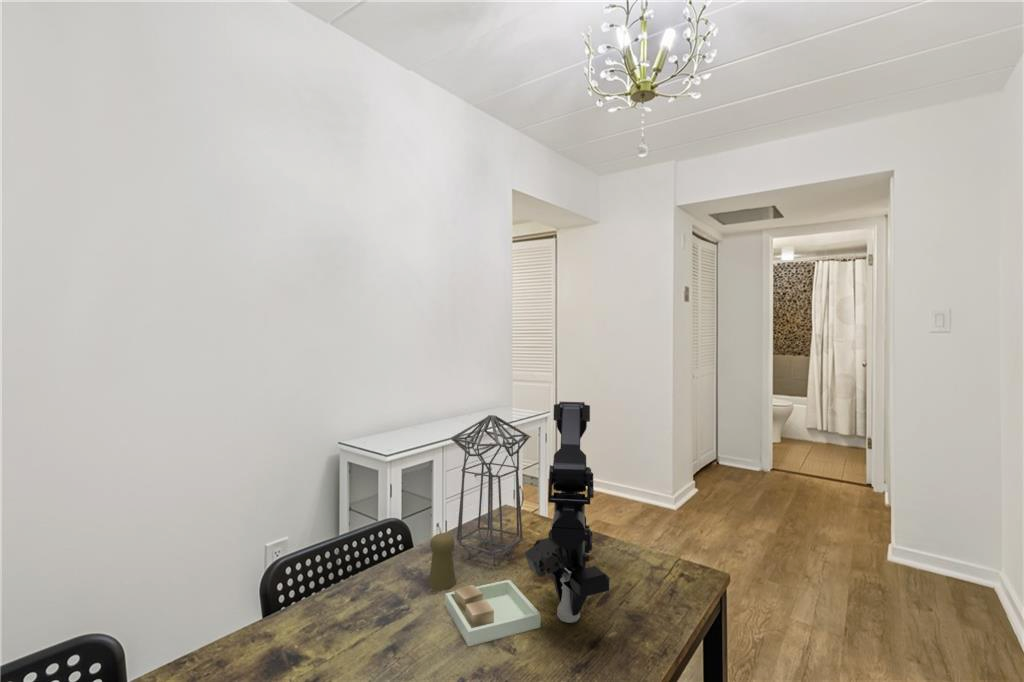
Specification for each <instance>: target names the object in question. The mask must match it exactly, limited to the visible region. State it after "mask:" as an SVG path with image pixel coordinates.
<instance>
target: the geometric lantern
mask: <svg viewBox="0 0 1024 682" xmlns="http://www.w3.org/2000/svg"><path fill="white" fill-rule="evenodd" d="M490 423H491V428H492V431H488V429H489V426H490ZM504 425H505V426H507V427H508V428H510V429H511V430H514V431H516V432H517V433H519V434H512V433H510V432H509V430H507V429H506V427H505V426H504ZM473 428H474V429H473ZM470 430H471V431H470ZM468 431H470V432H469V433H468V434H467V435H466V436H462V435H464V434H465V433H467V432H468ZM497 431H498V432H499V433H498V432H497ZM480 433H481V434H480ZM505 433H506V434H507V435H508V436H506V434H505ZM484 434H486V435H487V436H489V437H490V439H492V440H493V441H495V443H481V441H482V438H483V436H484ZM499 437H501V438H502V443H501V442H500V441H499ZM518 437H521V438H519V439H518V440H517V439H516V438H518ZM530 438H532V436H531V435H529V434H527V433H525V432H524V431H522V430H520V429H519V428H517V427H515V426H514V425H513V424H510V423H509V422H508V421H505V420H504V419H503V418H500V417H499V416H497V415H495V414H494V415H493V414H491V415H490V414H488V415H487V416H486V417H484V418H482V419H481V420H479V421H478V422H475V423H474V424H472V425H470V426H469V427H467V428H465V429H464V430H462V431H460V432H458V433H457V434H454V435H452V437H451V438H450V440H451V441H452V442H454V443H455V444H456V445H457V446H458V447H459V448H460V449H461V450H462V451H463V452H464V459H463V467H462V469H461V473H462V475H461V489H460V497H459V499H460V501H459V510H458V511H459V512H458V521H457V532H456V533H457V534H456V542H457V544H458V545H460V546H461V547H462V549H464V550H465V551H467V553H468V559H467V560H469V561H472V559H473V558H475V557H476V556H479V557H483V558H488V559H492V560H493V566H494V567H495V566H496V560H497V565H498V566H501V565H500V564H501V563H500V561H501V560H500V559H501V557H502V556H503V555H505V554H506V555H508V558H511V557H512V549H513V548H514V547H516V546H517V545H518V544H519V543H520V542H522V541H523V539H524V538H523V537H524V536H523V522H522V510H521V496H520V481H519V480H520V479H519V470H520V454H519V453H520V450H521V448H522V447H523V446H524V445H525V444H526V443H527V441H528V440H529V439H530ZM468 439H470V440H468ZM510 440H511V441H510ZM463 443H464V444H463ZM520 443H521V444H520ZM470 445H471V446H470ZM516 445H517V449H516V450H515V451H514V446H516ZM475 446H476V449H475ZM479 447H488V448H487V449H485V450H483V451H482V452H480V449H479ZM497 447H498V449H496V452H495V453H494V455H493V457H492V458H491V460H490V461H489V462H486V461H485V459H484V457H483V455H484V454H486V453H488V452H490V451H491V450H492V449H494V448H497ZM502 448H504V449H505V451H506V452H507V454H508V455H506V456H505V458H504V460H503V462H502V463H494V460H495V458H496V456H497V455H498V453H499V451H500V450H501V449H502ZM470 449H472V450H473V451H474V453H471V450H470ZM510 449H511V450H510ZM476 450H477V451H476ZM515 455H516V465H515V462H514V458H513V457H514V456H515ZM469 457H477V459H478V460H479V461H480V462H481V463H478V464H474V465H472V466H469V467H466V466H467V462H468V460H469ZM509 457H510V459H511V462H512V465H509V464H505V462H506V460H507V459H508V458H509ZM492 465H493V466H500V467H499V469H498V471H497V472H496V474H493V473H492V471H491V468H492ZM478 466H481V473H480V472H475V471H474V472H473V471H467V470H469V469H473V468H475V467H478ZM503 467H508V468H514V470H512V471H509V472H506V473H503V474H502V475H499V473H500V472H501V469H502V468H503ZM484 468H486V470H487V471H488V474H484ZM512 473H515V497H516V498H515V500H516V501H515V503H516V505H515V506H516V509H515V510H516V532H513V531H510V530H509V531H508V530H503V515H502V514H503V513H502V511H503V510H502V508H503V507H502V486H501V485H502V484H501V478H502V477H505V476H508V475H510V474H512ZM466 474H471V475H475V476H476V475H477V476H480V491H479V502H478V503H479V505H478V517H477V519H478V520H477V521H478V522H477V528H476V529H473V530H472V531H470V532H468V533H467V534H464V535H463V518H464V517H463V513H464V489H465V478H466V477H465V476H466ZM484 477H487V478H488V481H487V482H488V487H487V490H488V491H487V493H488V494H487V527H481V517H482V516H481V515H482V503H483V502H482V499H483V484H484V483H483V482H484ZM494 478H497V481H498V482H497V483H498V486H497V487H498V489H497V490H498V505H499V509H498V511H499V528H493V513H494V512H493V504H494V503H493V499H494V498H493V496H494V495H493V493H494V492H493V491H494V489H493V488H494V486H493V485H494V484H493V479H494ZM481 530H482V531H483V530H487V531H486V537H485V541H484V540H483V536H482V533H481ZM493 531H495V532H499V533H500V534H499V535H500V543H498V542H493ZM477 532H478V533H479V537H480V542H479V543H478V544H476V545H474V546H473V545H470V544H466V543H463V542H462V540H464V539H465V538H467V537H469V536H471V535H473V534H474V533H477ZM503 533H504V534H508V535H513V536H515V537H514V538H513V540H512V541H511V543H510V544H508V545H507V544H504V535H503ZM488 537H489V541H488ZM517 538H518V539H517ZM483 544H484V548H483ZM488 544H489V548H488V547H487V545H488ZM493 545H494V546H495V545H497V546H500V549H493ZM479 546H480V547H479ZM468 548H470V550H469V549H468ZM475 550H476V551H477V552H472V551H475ZM480 552H483V553H487V554H491V556H489V555H486V554H481V553H480ZM494 554H499V555H498V556H497V557H496V556H495V555H494Z"/></svg>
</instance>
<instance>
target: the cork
mask: <svg viewBox="0 0 1024 682" xmlns="http://www.w3.org/2000/svg"><path fill="white" fill-rule="evenodd" d="M429 542H430V543H429V544H430V545H429V547H430V550H431V552H432V556H431V562H430V569H429V570H430V571H429V576H428V577H429V578H428V587H429V588H430V589H432V590H436V591H446V590H449V589H452V588H453V587H454V586H455V585H456V583H457V582H456V574H455V567H454V566H455V564H454V560H453V559H454V557H453V550H454V548H455V539H454V536H453V535H451V534H450V533H442V532H441V533H440V532H439V533H437V534H435V535H433V536H432V537H431V540H430V541H429Z"/></svg>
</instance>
